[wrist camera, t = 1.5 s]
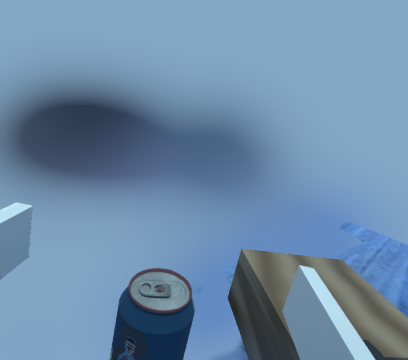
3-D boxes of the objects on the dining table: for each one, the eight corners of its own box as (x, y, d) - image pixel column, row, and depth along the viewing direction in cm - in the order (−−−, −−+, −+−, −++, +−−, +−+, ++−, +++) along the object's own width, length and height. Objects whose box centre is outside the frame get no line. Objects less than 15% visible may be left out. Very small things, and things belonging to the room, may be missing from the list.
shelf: (324, 304, 47) (341, 260, 45) (418, 420, 30) (454, 358, 28) (227, 297, 43) (241, 248, 41) (273, 427, 26) (301, 355, 24)
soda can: (173, 356, 31) (194, 267, 28) (176, 425, 25) (204, 319, 22) (111, 354, 30) (126, 260, 27) (97, 426, 23) (115, 313, 20)
